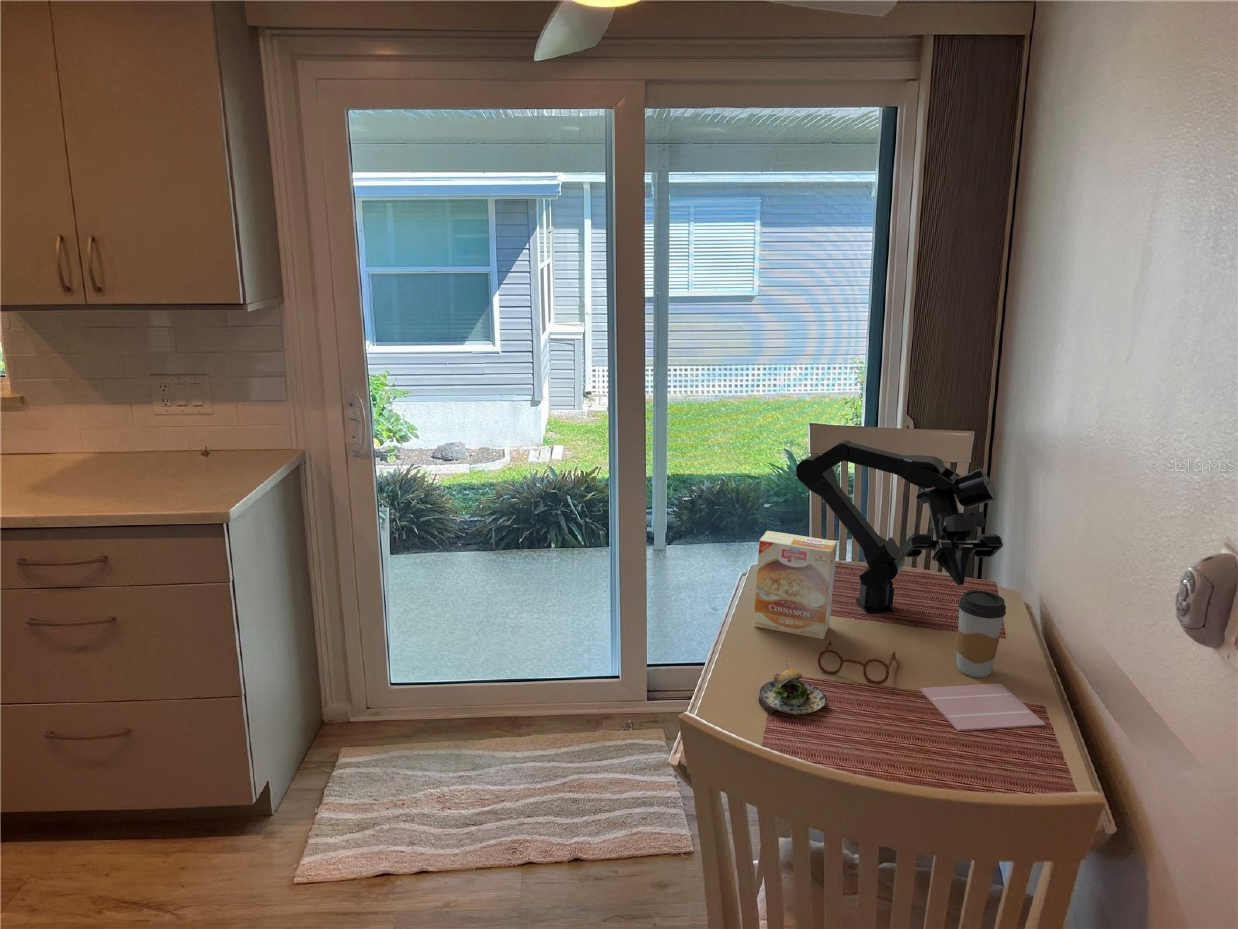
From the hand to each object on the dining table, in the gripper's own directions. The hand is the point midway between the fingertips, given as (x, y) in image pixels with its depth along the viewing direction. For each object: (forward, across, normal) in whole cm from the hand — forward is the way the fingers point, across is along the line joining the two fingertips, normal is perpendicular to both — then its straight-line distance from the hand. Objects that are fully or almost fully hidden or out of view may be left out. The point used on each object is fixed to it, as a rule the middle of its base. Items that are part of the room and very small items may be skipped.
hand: (961, 584), depth 178 cm
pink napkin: (+26, -5, -7) cm, 27 cm away
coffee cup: (+17, 0, +3) cm, 17 cm away
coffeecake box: (+3, -31, +17) cm, 35 cm away
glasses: (+15, -22, +5) cm, 27 cm away
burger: (+25, -38, -5) cm, 46 cm away
